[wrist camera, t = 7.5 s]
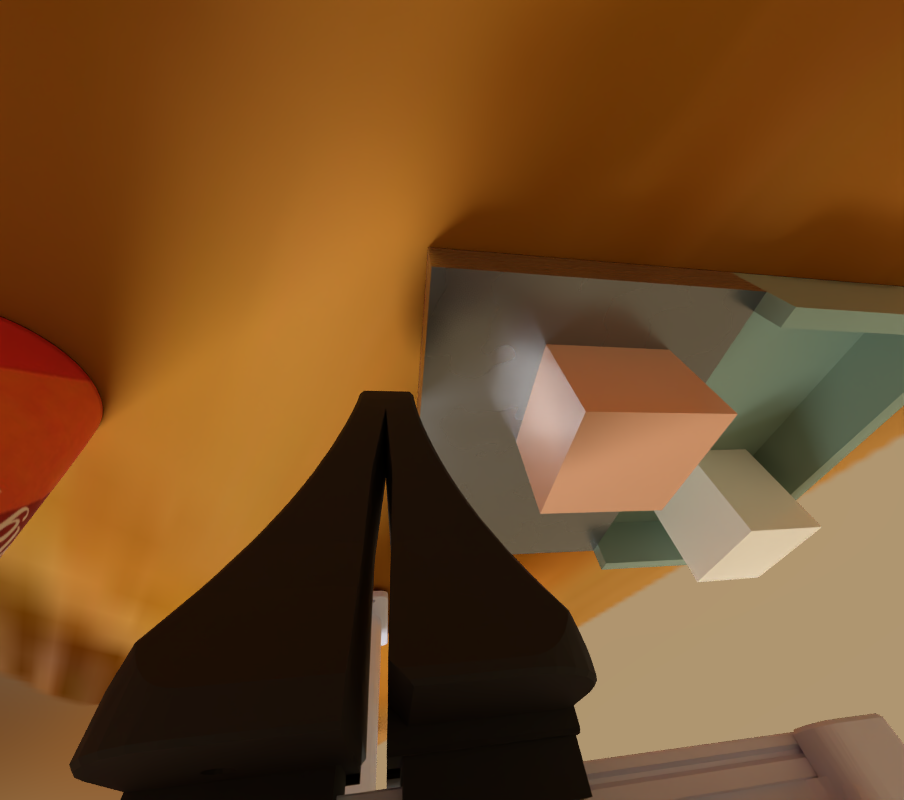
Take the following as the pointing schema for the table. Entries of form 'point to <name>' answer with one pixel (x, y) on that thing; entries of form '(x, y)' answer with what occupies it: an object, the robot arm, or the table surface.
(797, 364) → the box
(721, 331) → the plate
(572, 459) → the terracotta block
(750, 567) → the tile cream
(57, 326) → the table surface
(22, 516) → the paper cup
